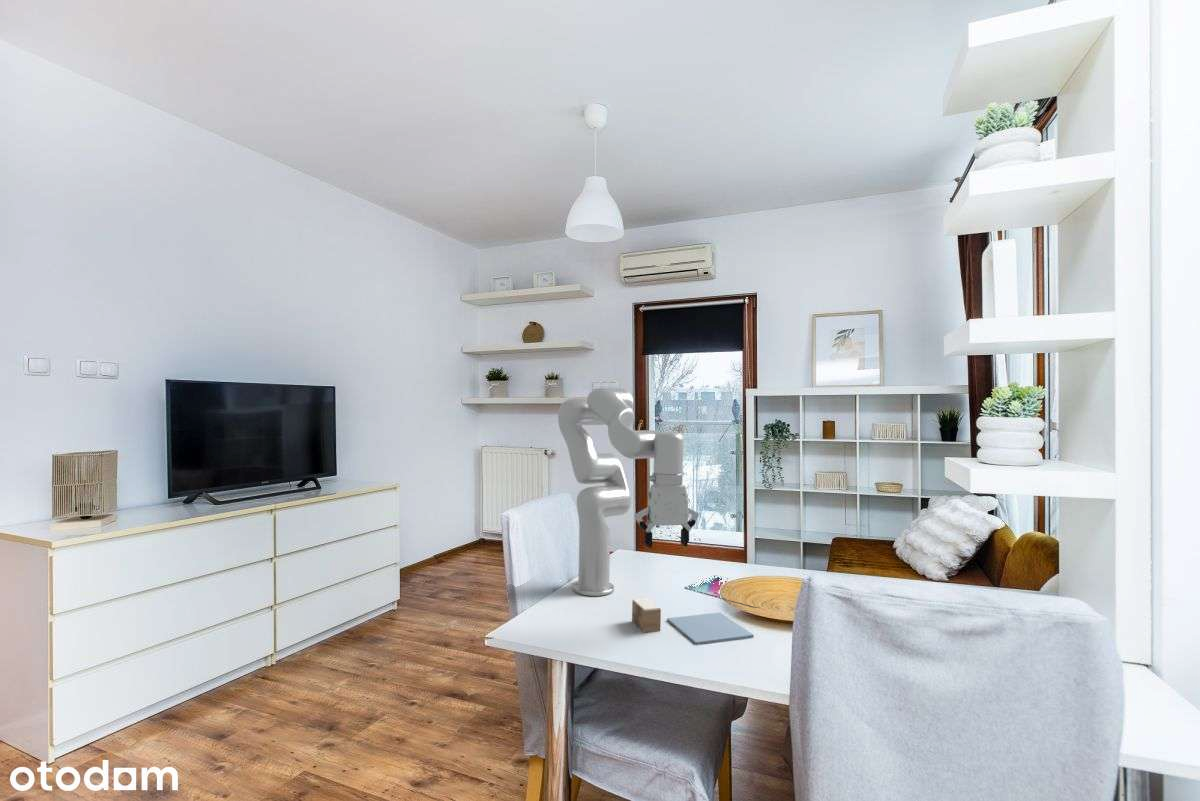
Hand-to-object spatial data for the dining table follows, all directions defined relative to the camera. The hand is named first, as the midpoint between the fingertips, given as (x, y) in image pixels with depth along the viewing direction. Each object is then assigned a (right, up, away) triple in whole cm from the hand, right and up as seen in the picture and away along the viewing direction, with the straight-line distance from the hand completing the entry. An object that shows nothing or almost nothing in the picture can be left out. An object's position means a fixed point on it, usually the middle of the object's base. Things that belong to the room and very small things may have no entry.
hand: (666, 545), depth 150 cm
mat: (+11, -21, -2) cm, 23 cm away
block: (-5, -21, -1) cm, 21 cm away
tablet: (+24, -22, +29) cm, 44 cm away
